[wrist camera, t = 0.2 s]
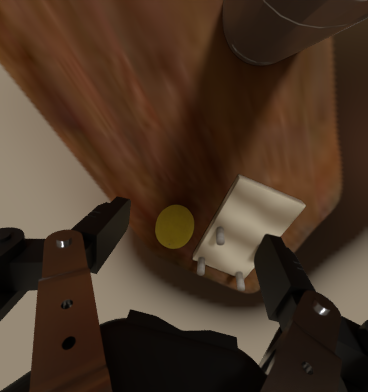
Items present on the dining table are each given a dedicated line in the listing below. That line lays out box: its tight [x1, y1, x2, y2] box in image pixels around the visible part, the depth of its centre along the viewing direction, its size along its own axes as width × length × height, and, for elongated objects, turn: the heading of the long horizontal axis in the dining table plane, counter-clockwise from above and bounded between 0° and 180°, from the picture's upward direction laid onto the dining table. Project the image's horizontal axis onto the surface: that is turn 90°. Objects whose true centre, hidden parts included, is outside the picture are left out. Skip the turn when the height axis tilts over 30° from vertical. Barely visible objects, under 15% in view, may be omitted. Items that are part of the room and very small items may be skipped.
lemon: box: [155, 205, 194, 249], centre depth 28 cm, size 6×6×8 cm
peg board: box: [192, 174, 306, 291], centre depth 30 cm, size 17×10×4 cm, turn 159°
